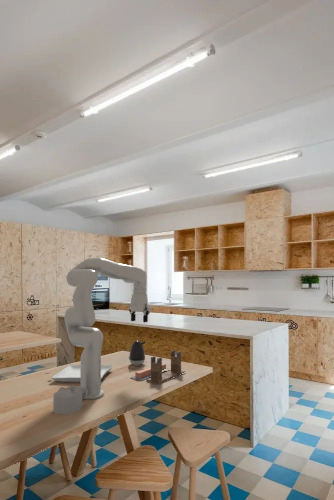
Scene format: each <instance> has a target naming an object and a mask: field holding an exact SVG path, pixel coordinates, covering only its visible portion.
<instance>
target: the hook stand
mask: <svg viewBox="0 0 334 500" xmlns="http://www.w3.org/2000/svg"><path fill="white" fill-rule="evenodd" d="M162 359H163V357H158V358H157V357H156V356H155V355H154V356H153V355H152V356H150V367H151V378H148V379H146V382H147V383H150V382H151V384H154V383H156V385H160V384H163V383H165V382H167V380H168V381H170V380H172V379H171V378H173V377H175V378H177V377H179V376H178V375H180V374H182V373H184V372H185V373H186V371H185V370H182V351H175V350H171V351H170V369H171V370H169V371H167V372H164V373H162V363H163V360H162ZM182 375H183V374H182ZM176 376H177V377H176ZM180 376H181V375H180ZM169 379H170V380H169ZM173 379H174V378H173ZM164 381H165V382H164ZM162 382H163V383H162Z"/></svg>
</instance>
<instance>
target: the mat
mask: <svg viewBox="0 0 334 500" xmlns="http://www.w3.org/2000/svg"><path fill="white" fill-rule="evenodd" d="M149 377H151V375H149V376H146V377H143V378H141V379H138V378H135V375H134V376H131V377H130V378H132V379H131V380H134V379H136V380H135V381H139V380H140V381H139V382H142V381H141V380H143V381H145V380H147V378H148V379H149ZM144 379H145V380H144Z"/></svg>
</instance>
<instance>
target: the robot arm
mask: <svg viewBox="0 0 334 500" xmlns="http://www.w3.org/2000/svg"><path fill="white" fill-rule="evenodd" d="M99 275H100V276H101V277H102V276H103V277H107V278H110V279H114V280H122V281H123V282H124V283H127V284H133V285H132V286H133V289H132V292H133V293H132V294H131V298H130V305H128V311H129V313H130V314H129V315H130V321H131V322H136V317H137V315H136V313H137V312H139V313H140V312H141V313H142V314H143V317H142V318H143V319H142V322H143V323H148V321H149V314H150V313H151V311H152V306H150V305H149V302H148V300H149V299H148V295H147V271H146V270H143V269H142V268H139V267H137V266H133V265H128V264H123V263H119V262H115V261H112V260H109V259H106V258H104V257H91V258H90V257H89V258H86V259H84V260H83V261H81V262H80V263H78V264H77V265H76V266H74V267H73V268H72V269H70V270H69V271H68V273H67V275H66V279H65V280H66V282H67V284H68V285H69V286H71V287H75V290H74V292H73V294H72V303H73V305H71V306H70V307H68V308H66V311H65V312H64V318H63V320H64V325H65V329H66V332H67V335H68V336H67V337H68V339H69V342H70V344H71V345H73V346H74V347H80V348H81V347H82V348H83V350H82V352H81V355H80V365H81V369H80V382H79V387H80V388H82V400H96V399H100V398H102V397H103V396H104V394H105V391H104V390H103V389H102V388H101V387H102V386H101V384H102V383H101V382H102V381H101V380H102V378H101V365H102V364H101V363H102V348H103V342H104V335H103V332H102V330H100V329H99V328H97V327H92V326H93V325H94V324H95V323H96V313H95V309H94V305H93V300H92V293H93V289H94V288H95V286H96V284H97V282H98V279H99Z"/></svg>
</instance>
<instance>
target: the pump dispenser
mask: <svg viewBox="0 0 334 500" xmlns="http://www.w3.org/2000/svg"><path fill="white" fill-rule="evenodd" d="M145 344H146V341H143V342H141V341H140V340H134V341H133V343H132V345H131V347H130V351H129V356H128V360H129V362H130V364H132V366H135V365H139V366H142V365H143V364H144V363H145V360H146V353H145V348H144V345H145ZM141 364H142V365H141Z"/></svg>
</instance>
